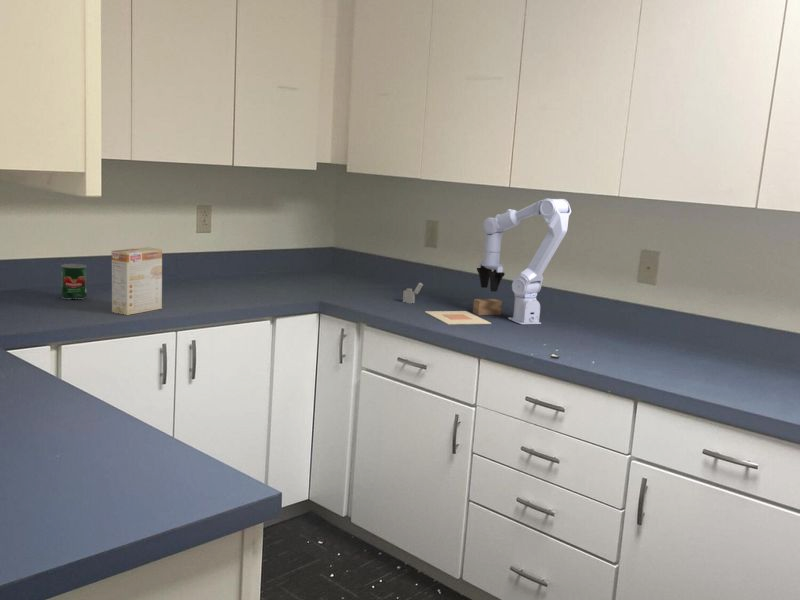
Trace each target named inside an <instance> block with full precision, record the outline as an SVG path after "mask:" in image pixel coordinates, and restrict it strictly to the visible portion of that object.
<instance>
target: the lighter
mask: <svg viewBox="0 0 800 600" xmlns="http://www.w3.org/2000/svg"><path fill="white" fill-rule="evenodd" d="M423 286H424V284H423V283H422V282H419V283H418V284H417V285H416V287H415V289H414V291H413V288H410V287H409V288H405V290H403V292H402V293H403V295H402V303H404V302H406V303H407V304H412V303H413V304H415V302H416V300H415V299H416V295H418V294H419V293H420V291H421V289H422V287H423Z"/></svg>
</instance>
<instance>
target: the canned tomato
mask: <svg viewBox="0 0 800 600" xmlns="http://www.w3.org/2000/svg"><path fill="white" fill-rule="evenodd" d="M60 267H61V270H60V271H61V272H60V274H61V275H60V277H61V280H60V283H61V285H60V288H61V289H60V291H61V296H62V297H64V298H72V299H73V298H74V299H75V298H77V299H78V298H85V297H87V282H88V281H87V274H88V273H87V267H88V266H87V264H82V263H64V264H61V265H60Z"/></svg>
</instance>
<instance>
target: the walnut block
mask: <svg viewBox="0 0 800 600" xmlns="http://www.w3.org/2000/svg"><path fill="white" fill-rule="evenodd" d="M502 306H503V300H500V299H497V298H474V299H473V306H472V307H473V308H472V314H474V315H476V316H477V315H478V316H493V315H494V316H500V315H502V308H503V307H502Z"/></svg>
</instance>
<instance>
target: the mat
mask: <svg viewBox="0 0 800 600" xmlns="http://www.w3.org/2000/svg"><path fill="white" fill-rule="evenodd" d="M424 313H425V314H427V315H429V316H431V317H433V318H434V319H436V320H438V321H440V322H442V323H444V324H445V325H492V322H491V321H488V320H486V319H483V318H481V317H479V316H477V315H476V314H474V313H471V312H469V311H467V310H455V311H453V310H451V311H450V310H441V311H440V310H439V311H436V310H435V311H433V310H432V311H427V310H426V311H425V310H424Z"/></svg>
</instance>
